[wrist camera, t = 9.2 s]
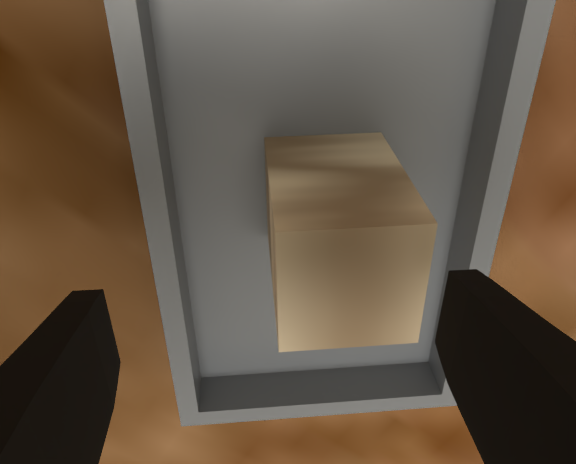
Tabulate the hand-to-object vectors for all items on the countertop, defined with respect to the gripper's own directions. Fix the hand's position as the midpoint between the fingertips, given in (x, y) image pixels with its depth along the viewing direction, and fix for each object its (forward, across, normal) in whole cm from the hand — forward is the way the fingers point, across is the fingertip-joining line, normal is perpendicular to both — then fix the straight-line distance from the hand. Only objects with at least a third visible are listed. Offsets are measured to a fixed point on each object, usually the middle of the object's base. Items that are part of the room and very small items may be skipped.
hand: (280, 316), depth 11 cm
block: (+8, -2, +1) cm, 9 cm away
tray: (+9, -2, +1) cm, 9 cm away
